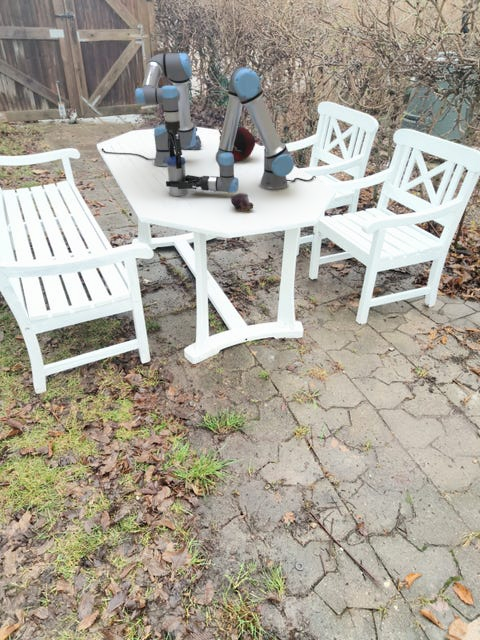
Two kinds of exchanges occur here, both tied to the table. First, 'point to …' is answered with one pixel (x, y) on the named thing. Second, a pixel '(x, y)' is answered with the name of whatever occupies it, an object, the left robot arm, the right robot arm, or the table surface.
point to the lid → (174, 161)
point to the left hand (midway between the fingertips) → (176, 165)
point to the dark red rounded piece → (242, 144)
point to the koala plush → (197, 143)
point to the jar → (177, 179)
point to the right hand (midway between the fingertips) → (169, 180)
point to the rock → (241, 202)
